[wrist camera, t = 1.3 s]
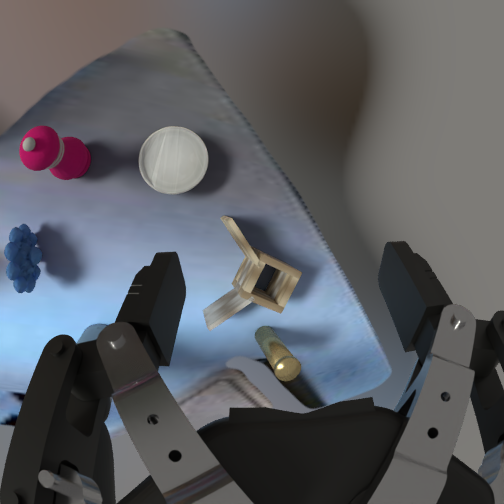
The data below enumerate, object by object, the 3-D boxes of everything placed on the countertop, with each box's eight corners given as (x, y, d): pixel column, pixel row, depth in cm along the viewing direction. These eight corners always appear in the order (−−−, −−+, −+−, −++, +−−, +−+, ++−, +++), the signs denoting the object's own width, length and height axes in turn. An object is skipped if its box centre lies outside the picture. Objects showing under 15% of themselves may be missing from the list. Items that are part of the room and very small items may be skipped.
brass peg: (268, 346, 60) (292, 383, 46) (250, 340, 58) (270, 377, 45) (278, 328, 59) (305, 362, 46) (259, 322, 58) (283, 355, 45)
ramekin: (133, 146, 47) (129, 141, 42) (193, 124, 49) (195, 116, 44) (154, 204, 50) (152, 205, 45) (214, 181, 51) (218, 179, 46)
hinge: (250, 330, 58) (261, 349, 50) (179, 302, 53) (180, 319, 46) (292, 249, 57) (309, 257, 49) (221, 214, 53) (229, 217, 45)
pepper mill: (100, 164, 46) (59, 145, 27) (70, 189, 45) (17, 185, 26) (82, 133, 44) (37, 102, 25) (52, 158, 43) (-4, 142, 24)
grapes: (62, 279, 47) (36, 299, 36) (34, 284, 46) (6, 304, 34) (49, 217, 45) (19, 223, 33) (22, 224, 43) (-11, 232, 32)
